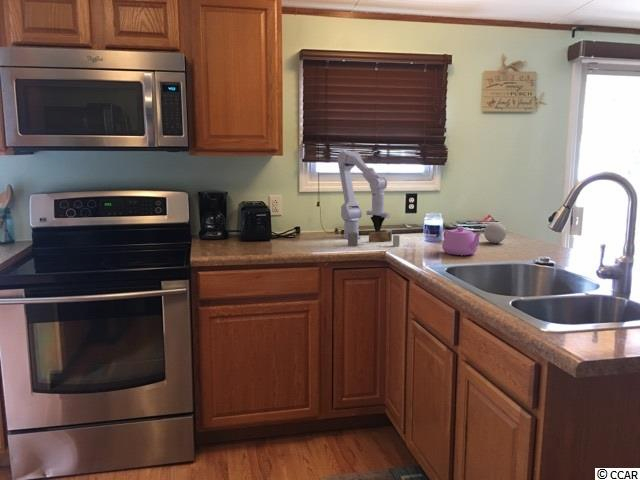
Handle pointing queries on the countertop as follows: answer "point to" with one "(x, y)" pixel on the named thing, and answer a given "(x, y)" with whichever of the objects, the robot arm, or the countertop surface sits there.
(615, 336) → the countertop surface
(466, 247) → the teapot
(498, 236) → the ball
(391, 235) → the hinge post
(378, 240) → the door
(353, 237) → the block
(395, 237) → the stop wall
